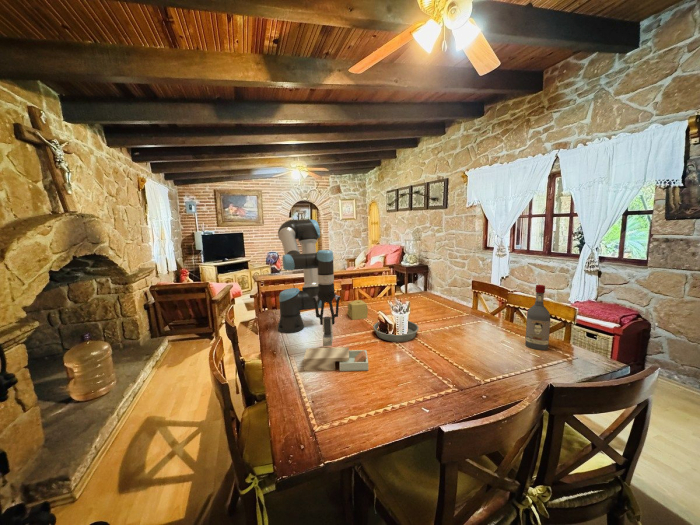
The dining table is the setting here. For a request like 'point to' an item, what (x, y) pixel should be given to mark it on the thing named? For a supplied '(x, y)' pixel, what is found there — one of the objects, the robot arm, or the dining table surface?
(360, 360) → the tile
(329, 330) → the scraper
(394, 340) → the cake pan
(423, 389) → the dining table surface
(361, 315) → the cheese
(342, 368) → the box
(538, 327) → the liquor
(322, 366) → the ledge
